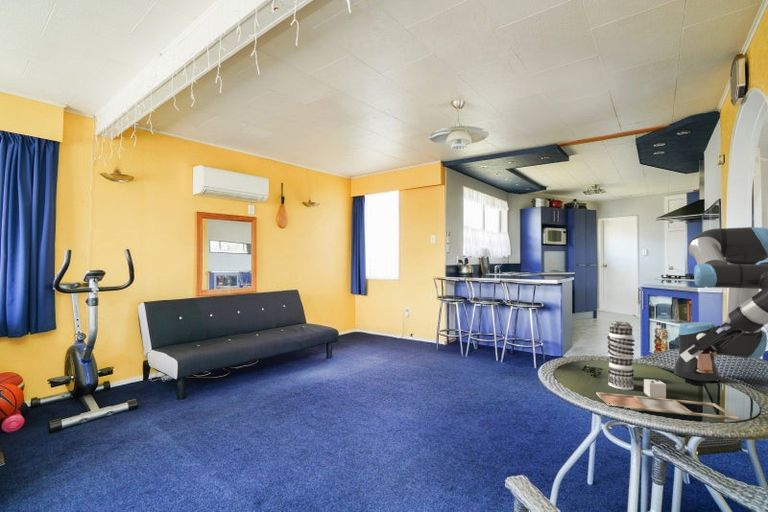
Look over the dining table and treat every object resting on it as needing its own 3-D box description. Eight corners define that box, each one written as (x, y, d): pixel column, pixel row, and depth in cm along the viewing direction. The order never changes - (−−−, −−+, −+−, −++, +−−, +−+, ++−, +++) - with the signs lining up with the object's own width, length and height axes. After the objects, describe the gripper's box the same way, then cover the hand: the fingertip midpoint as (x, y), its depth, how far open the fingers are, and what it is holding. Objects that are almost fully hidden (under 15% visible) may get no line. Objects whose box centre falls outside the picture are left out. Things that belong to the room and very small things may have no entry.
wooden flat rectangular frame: (714, 405, 125) (714, 403, 125) (739, 420, 113) (739, 418, 113) (596, 393, 135) (596, 392, 135) (607, 406, 122) (607, 404, 122)
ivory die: (659, 393, 136) (659, 378, 136) (666, 398, 131) (665, 382, 131) (643, 392, 137) (643, 377, 137) (649, 397, 132) (649, 381, 132)
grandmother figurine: (709, 370, 123) (708, 332, 123) (720, 373, 119) (719, 334, 120) (687, 370, 123) (686, 332, 123) (697, 373, 119) (696, 334, 119)
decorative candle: (611, 388, 141) (611, 323, 141) (604, 381, 150) (604, 319, 150) (638, 391, 138) (638, 324, 139) (629, 383, 147) (629, 321, 148)
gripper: (745, 327, 104) (681, 370, 118) (781, 324, 111) (715, 364, 126) (722, 306, 109) (663, 350, 123) (757, 304, 116) (697, 346, 131)
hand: (689, 357), depth 124 cm, fingers closed on grandmother figurine, 6 cm apart
